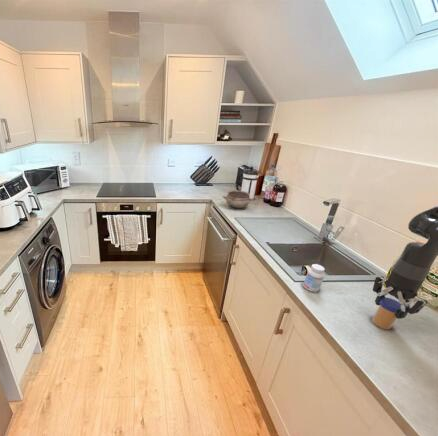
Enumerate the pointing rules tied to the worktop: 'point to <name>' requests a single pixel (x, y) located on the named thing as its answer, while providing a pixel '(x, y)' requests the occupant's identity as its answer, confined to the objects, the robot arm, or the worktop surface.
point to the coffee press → (248, 181)
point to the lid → (390, 304)
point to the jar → (384, 318)
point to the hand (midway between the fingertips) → (388, 310)
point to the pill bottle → (314, 278)
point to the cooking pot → (238, 199)
